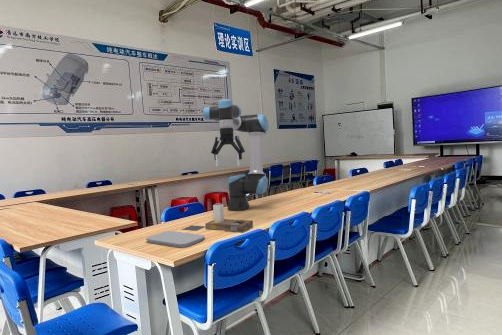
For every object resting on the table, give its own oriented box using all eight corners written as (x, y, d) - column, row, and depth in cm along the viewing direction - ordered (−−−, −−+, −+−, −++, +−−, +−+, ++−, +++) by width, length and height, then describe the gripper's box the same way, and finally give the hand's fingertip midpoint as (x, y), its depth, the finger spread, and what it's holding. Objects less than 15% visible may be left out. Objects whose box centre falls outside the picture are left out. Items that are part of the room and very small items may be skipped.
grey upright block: (214, 227, 188) (213, 204, 187) (218, 225, 191) (216, 203, 191) (220, 228, 186) (219, 204, 185) (224, 226, 190) (223, 203, 189)
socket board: (217, 224, 196) (216, 218, 196) (252, 227, 187) (252, 220, 187) (205, 230, 185) (205, 223, 185) (242, 232, 176) (242, 225, 176)
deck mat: (191, 226, 196) (191, 225, 196) (206, 227, 192) (206, 226, 192) (180, 230, 187) (180, 229, 187) (196, 231, 183) (196, 230, 183)
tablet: (168, 234, 181) (168, 230, 181) (207, 240, 167) (207, 235, 167) (143, 243, 167) (143, 238, 167) (183, 249, 153) (183, 244, 153)
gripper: (203, 129, 197) (205, 166, 199) (243, 126, 187) (245, 165, 188) (210, 129, 204) (212, 165, 206) (249, 126, 193) (251, 164, 195)
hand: (228, 165), depth 197 cm, fingers open, 13 cm apart
